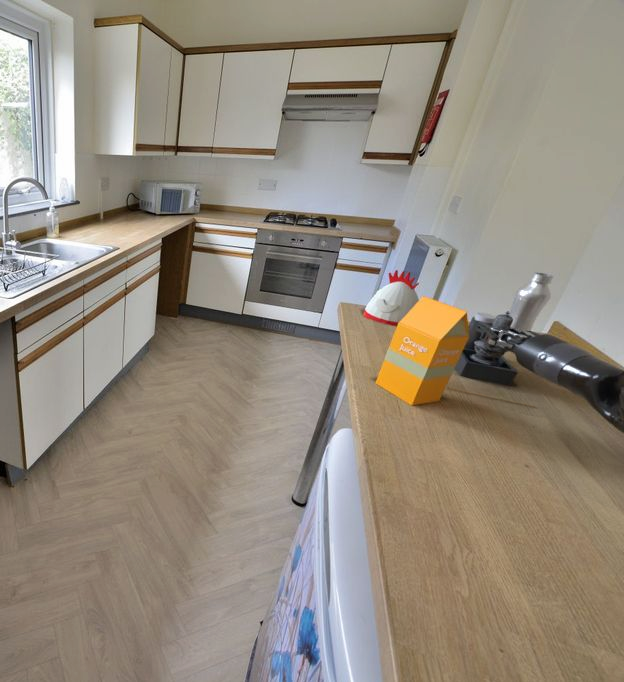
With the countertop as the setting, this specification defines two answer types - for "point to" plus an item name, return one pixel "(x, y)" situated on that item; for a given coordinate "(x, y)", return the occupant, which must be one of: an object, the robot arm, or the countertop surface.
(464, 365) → the dark grey tray
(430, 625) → the countertop surface
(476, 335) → the pepper shaker
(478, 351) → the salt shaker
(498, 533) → the countertop surface
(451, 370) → the orange juice
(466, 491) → the countertop surface
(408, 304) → the kitchen timer
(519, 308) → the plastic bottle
